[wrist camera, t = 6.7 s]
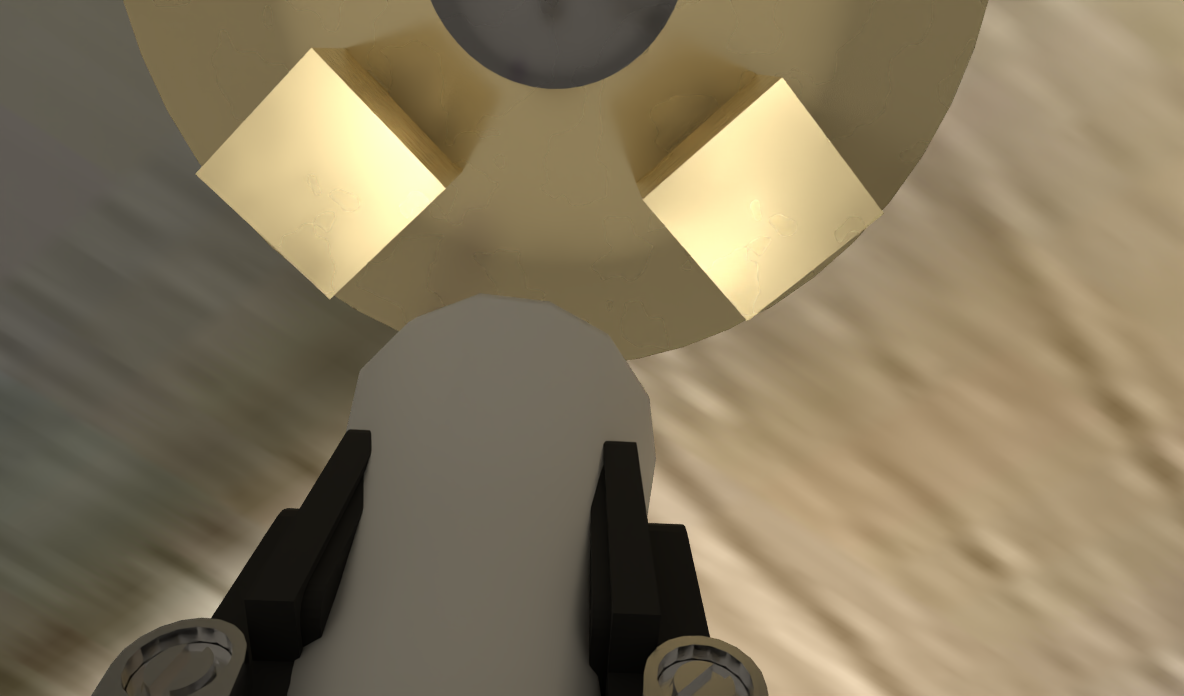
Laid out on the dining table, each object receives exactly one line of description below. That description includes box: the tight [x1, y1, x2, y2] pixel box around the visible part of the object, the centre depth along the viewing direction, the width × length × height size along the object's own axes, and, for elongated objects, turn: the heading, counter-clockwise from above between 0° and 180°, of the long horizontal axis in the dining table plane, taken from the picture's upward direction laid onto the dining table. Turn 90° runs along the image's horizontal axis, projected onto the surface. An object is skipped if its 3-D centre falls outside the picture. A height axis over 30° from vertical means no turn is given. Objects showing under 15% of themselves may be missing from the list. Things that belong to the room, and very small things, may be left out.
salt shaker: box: [287, 293, 656, 696], centre depth 10 cm, size 6×6×13 cm
